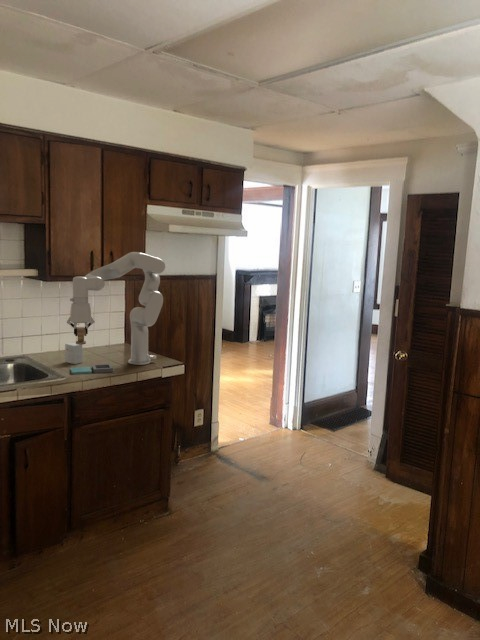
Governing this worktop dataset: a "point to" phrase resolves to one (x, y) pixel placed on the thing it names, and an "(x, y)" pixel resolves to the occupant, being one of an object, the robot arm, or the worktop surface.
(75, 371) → the tile
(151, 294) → the robot arm
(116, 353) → the worktop surface
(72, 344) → the small box
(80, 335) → the t-key
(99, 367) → the socket
